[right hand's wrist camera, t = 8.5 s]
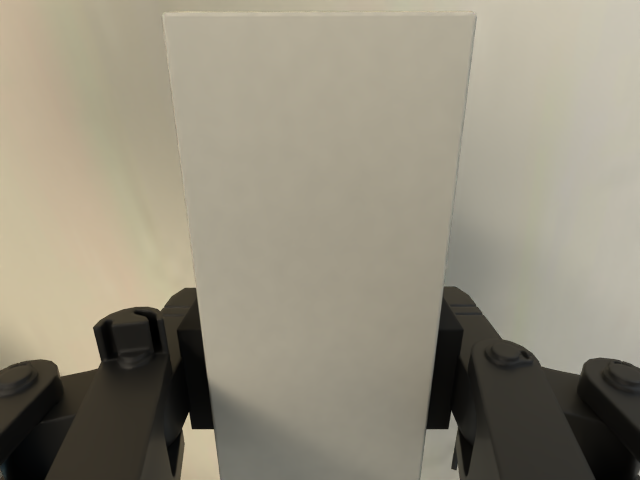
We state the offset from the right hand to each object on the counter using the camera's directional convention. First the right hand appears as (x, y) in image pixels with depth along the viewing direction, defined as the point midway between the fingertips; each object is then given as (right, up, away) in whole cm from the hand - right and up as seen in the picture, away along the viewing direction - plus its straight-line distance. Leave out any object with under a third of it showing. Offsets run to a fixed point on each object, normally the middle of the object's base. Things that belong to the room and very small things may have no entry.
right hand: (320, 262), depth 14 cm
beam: (0, -23, +9) cm, 25 cm away
